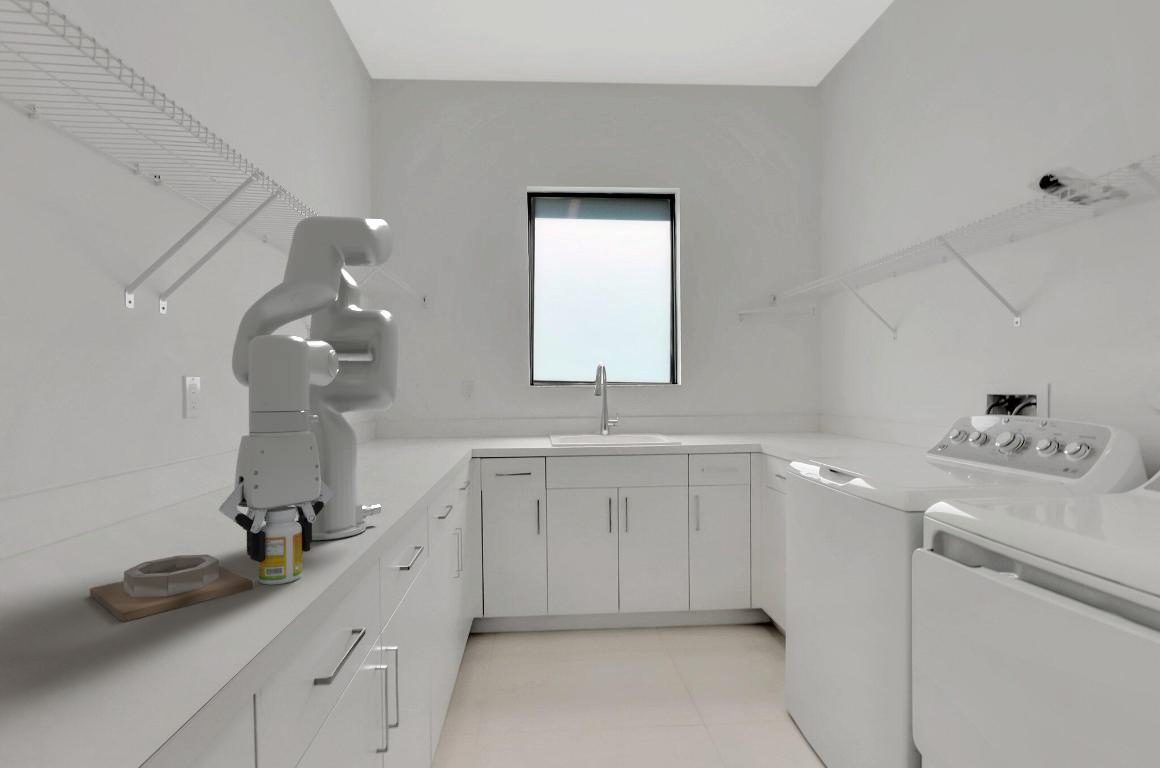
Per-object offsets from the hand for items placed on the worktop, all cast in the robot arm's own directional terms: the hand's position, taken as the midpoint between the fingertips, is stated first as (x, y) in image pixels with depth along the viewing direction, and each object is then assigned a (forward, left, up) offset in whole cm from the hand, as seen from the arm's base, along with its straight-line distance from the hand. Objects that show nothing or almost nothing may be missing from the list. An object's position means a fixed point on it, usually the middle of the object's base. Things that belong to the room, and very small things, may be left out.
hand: (280, 553), depth 81 cm
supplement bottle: (0, 0, -4) cm, 4 cm away
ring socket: (+11, -6, -3) cm, 13 cm away
